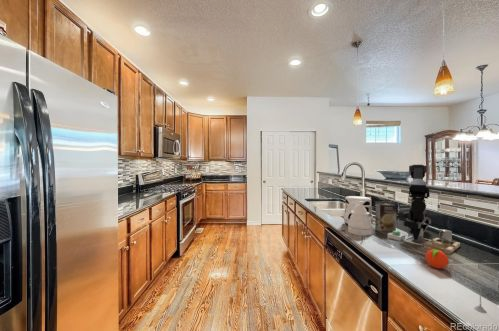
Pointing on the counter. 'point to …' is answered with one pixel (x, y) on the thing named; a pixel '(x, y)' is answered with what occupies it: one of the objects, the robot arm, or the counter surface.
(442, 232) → the billet
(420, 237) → the cylinder
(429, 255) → the tomato
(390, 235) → the white square frame
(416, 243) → the grey flat rimmed tray
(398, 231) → the button
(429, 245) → the shallow beige tray
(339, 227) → the counter surface
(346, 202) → the milk container
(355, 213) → the honey pot
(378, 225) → the coffee box
